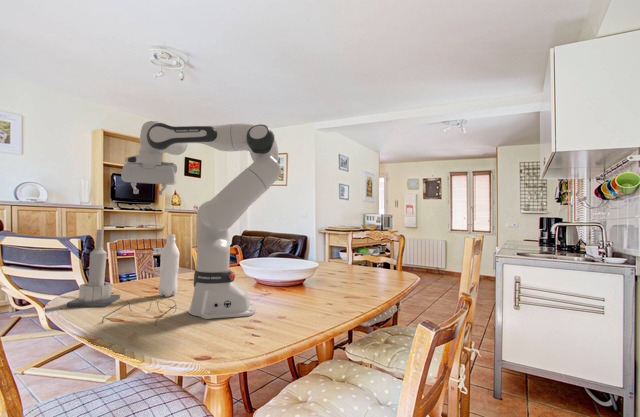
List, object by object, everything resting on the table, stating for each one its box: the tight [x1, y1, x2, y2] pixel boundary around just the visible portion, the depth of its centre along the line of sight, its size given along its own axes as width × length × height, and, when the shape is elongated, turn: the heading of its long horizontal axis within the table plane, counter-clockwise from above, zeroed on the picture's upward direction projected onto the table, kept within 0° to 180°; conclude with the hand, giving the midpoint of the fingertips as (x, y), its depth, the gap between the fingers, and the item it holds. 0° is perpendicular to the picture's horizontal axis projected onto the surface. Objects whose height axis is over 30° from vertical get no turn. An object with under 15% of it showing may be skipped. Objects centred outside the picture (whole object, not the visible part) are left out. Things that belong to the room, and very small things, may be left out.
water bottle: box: [157, 233, 181, 298], centre depth 133 cm, size 7×7×25 cm
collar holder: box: [66, 281, 121, 308], centre depth 117 cm, size 12×12×6 cm
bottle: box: [88, 229, 108, 287], centre depth 118 cm, size 5×5×25 cm
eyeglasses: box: [101, 296, 177, 327], centre depth 103 cm, size 16×15×5 cm
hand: (148, 194), depth 133 cm, fingers open, 8 cm apart
